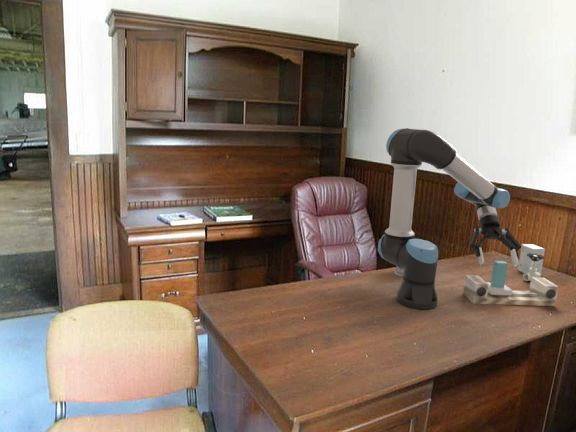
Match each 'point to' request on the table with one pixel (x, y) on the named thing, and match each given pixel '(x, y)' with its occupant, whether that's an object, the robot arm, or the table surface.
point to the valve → (533, 267)
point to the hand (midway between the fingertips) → (499, 264)
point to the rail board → (537, 295)
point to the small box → (526, 261)
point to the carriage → (499, 280)
